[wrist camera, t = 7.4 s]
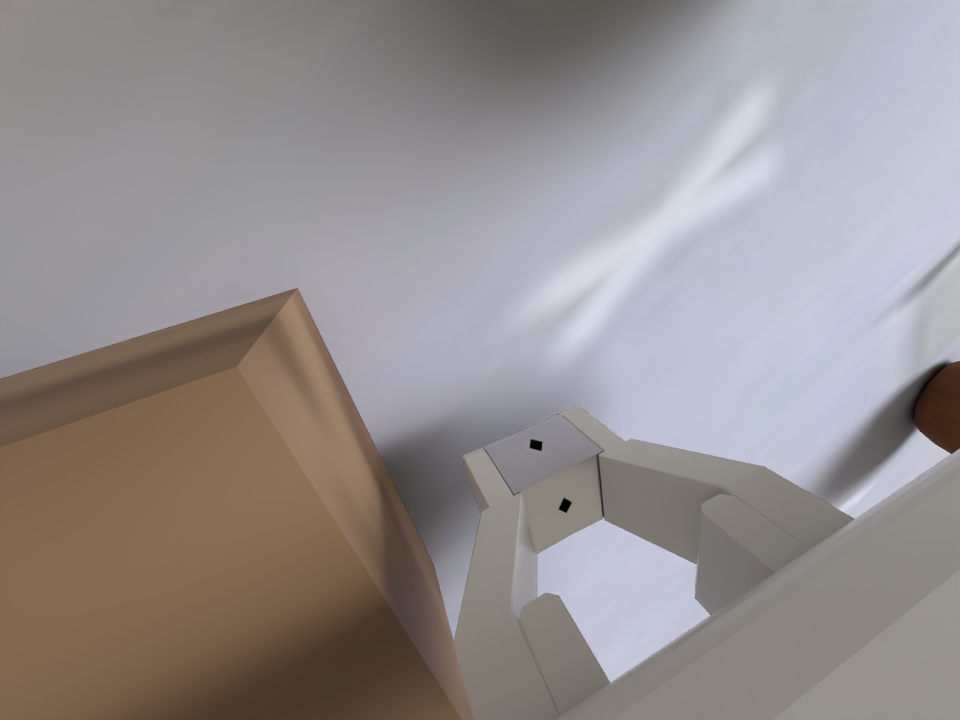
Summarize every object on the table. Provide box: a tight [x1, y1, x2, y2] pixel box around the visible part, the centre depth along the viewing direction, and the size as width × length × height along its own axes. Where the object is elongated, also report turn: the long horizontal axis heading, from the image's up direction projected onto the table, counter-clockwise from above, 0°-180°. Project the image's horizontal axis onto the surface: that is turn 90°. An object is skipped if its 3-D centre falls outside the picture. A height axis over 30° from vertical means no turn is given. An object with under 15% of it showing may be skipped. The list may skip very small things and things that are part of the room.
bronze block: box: [0, 288, 474, 720], centre depth 7 cm, size 10×6×5 cm, turn 14°
